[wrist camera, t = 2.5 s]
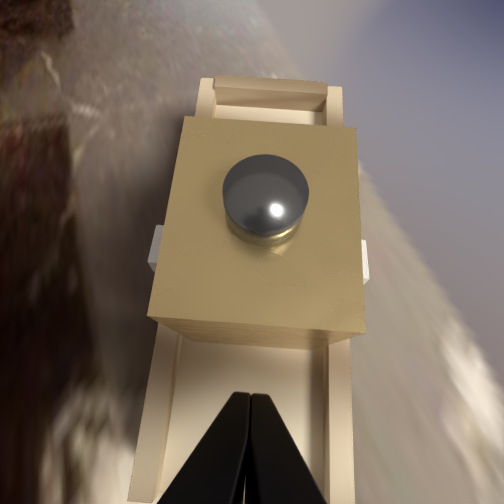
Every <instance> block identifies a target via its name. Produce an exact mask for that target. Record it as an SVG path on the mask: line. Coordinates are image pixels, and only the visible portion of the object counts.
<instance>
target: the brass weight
mask: <svg viewBox="0 0 504 504" xmlns="http://www.w3.org/2000/svg"><path fill="white" fill-rule="evenodd" d="M147 316H148V317H150V318H152V319H153V320H155V321H157V322H159V323H161V324H162V325H164V326H166V327H168V328H170V329H172V330H173V331H175V332H177V333H179V334H181V335H183V336H184V337H186V338H188V339H190V340H192V341H194V342H207V343H219V344H232V345H245V346H257V347H270V348H283V349H295V350H308V351H312V350H315V349H318V348H321V347H324V346H328V345H331V344H334V343H337V342H340V341H343V340H346V339H349V338H352V337H355V336H358V335H361V334H364V333H366V326H365V305H364V285H363V264H362V243H361V223H360V202H359V181H358V161H357V141H356V128H354V127H340V126H325V125H310V124H296V123H281V122H266V121H252V120H237V119H222V118H208V117H193V116H185V117H184V122H183V128H182V133H181V138H180V144H179V149H178V154H177V159H176V165H175V170H174V175H173V181H172V186H171V191H170V196H169V202H168V207H167V212H166V218H165V223H164V228H163V233H162V239H161V244H160V249H159V255H158V260H157V265H156V270H155V276H154V281H153V286H152V292H151V297H150V302H149V307H148V313H147Z"/></svg>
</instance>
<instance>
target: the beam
mask: <svg viewBox="0 0 504 504" xmlns="http://www.w3.org/2000/svg"><path fill="white" fill-rule="evenodd" d="M195 117H208V118H222V119H237V120H252V121H266V122H281V123H296V124H310V125H325V126H340V127H343V107H342V87H332V86H328V83H327V82H317V81H302V80H287V79H272V78H256V77H241V76H226V75H216V79H212V78H201V83H200V88H199V94H198V100H197V105H196V111H195ZM235 391H239V392H249V393H250V394H251V395H252V394H253V393H263V394H268V395H270V397H271V399H272V401H273V402H274V404H275V406H276V408H277V410H278V412H279V414H280V415H281V417H282V419H283V421H284V423H285V425H286V427H287V429H288V430H289V432H290V434H291V436H292V438H293V440H294V442H295V444H296V445H297V447H298V449H299V451H300V453H301V455H302V457H303V459H304V460H305V462H306V464H307V466H308V468H309V470H310V472H311V474H312V475H313V477H314V479H315V481H316V483H317V485H318V487H319V488H320V490H321V492H322V494H323V496H324V498H325V500H326V502H327V503H328V504H355V494H354V462H353V429H352V397H351V365H350V338H349V339H346V340H343V341H340V342H337V343H334V344H331V345H328V346H324V347H321V348H318V349H315V350H312V351H308V350H295V349H283V348H270V347H257V346H245V345H232V344H219V343H207V342H194V341H192V340H190V339H188V338H186V337H184V336H183V335H181V334H179V333H177V332H175V331H173V330H172V329H170V328H168V327H166V326H164V325H162V324H161V323H159V322H158V328H157V333H156V339H155V345H154V351H153V356H152V362H151V368H150V373H149V379H148V385H147V390H146V396H145V402H144V408H143V413H142V419H141V425H140V430H139V436H138V442H137V447H136V453H135V459H134V465H133V470H132V476H131V482H130V487H129V493H128V499H127V501H131V502H143V503H152V502H153V501H154V499H155V498H156V497H157V495H158V494H159V493H164V492H165V491H166V489H167V488H168V486H169V485H170V483H171V482H172V481H173V479H174V478H175V476H176V475H177V473H178V472H179V470H180V469H181V467H182V466H183V464H184V463H185V462H186V460H187V459H188V457H189V456H190V454H191V453H192V451H193V450H194V448H195V447H196V445H197V444H198V443H199V441H200V440H201V438H202V437H203V435H204V434H205V432H206V431H207V429H208V428H209V426H210V425H211V424H212V422H213V421H214V419H215V418H216V416H217V415H218V413H219V412H220V410H221V409H222V407H223V406H224V405H225V403H226V402H227V400H228V399H229V397H230V396H231V394H232V393H233V392H235ZM244 493H245V489H244Z"/></svg>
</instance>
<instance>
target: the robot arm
mask: <svg viewBox="0 0 504 504" xmlns="http://www.w3.org/2000/svg"><path fill="white" fill-rule="evenodd" d="M244 489H245V493H244ZM243 500H244V504H328V503H327V502H326V500H325V498H324V496H323V494H322V492H321V490H320V488H319V487H318V485H317V483H316V481H315V479H314V477H313V475H312V474H311V472H310V470H309V468H308V466H307V464H306V462H305V460H304V459H303V457H302V455H301V453H300V451H299V449H298V447H297V445H296V444H295V442H294V440H293V438H292V436H291V434H290V432H289V430H288V429H287V427H286V425H285V423H284V421H283V419H282V417H281V415H280V414H279V412H278V410H277V408H276V406H275V404H274V402H273V401H272V399H271V397H270V395H268V394H263V393H253V394H252V395H251V394H250V393H249V392H239V391H235V392H233V393H232V394H231V396H230V397H229V399H228V400H227V402H226V403H225V405H224V406H223V407H222V409H221V410H220V412H219V413H218V415H217V416H216V418H215V419H214V421H213V422H212V424H211V425H210V426H209V428H208V429H207V431H206V432H205V434H204V435H203V437H202V438H201V440H200V441H199V443H198V444H197V445H196V447H195V448H194V450H193V451H192V453H191V454H190V456H189V457H188V459H187V460H186V462H185V463H184V464H183V466H182V467H181V469H180V470H179V472H178V473H177V475H176V476H175V478H174V479H173V481H172V482H171V483H170V485H169V486H168V488H167V489H166V491H165V492H164V494H163V495H162V497H161V498H160V500H159V501H158V502H157V504H243Z"/></svg>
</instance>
